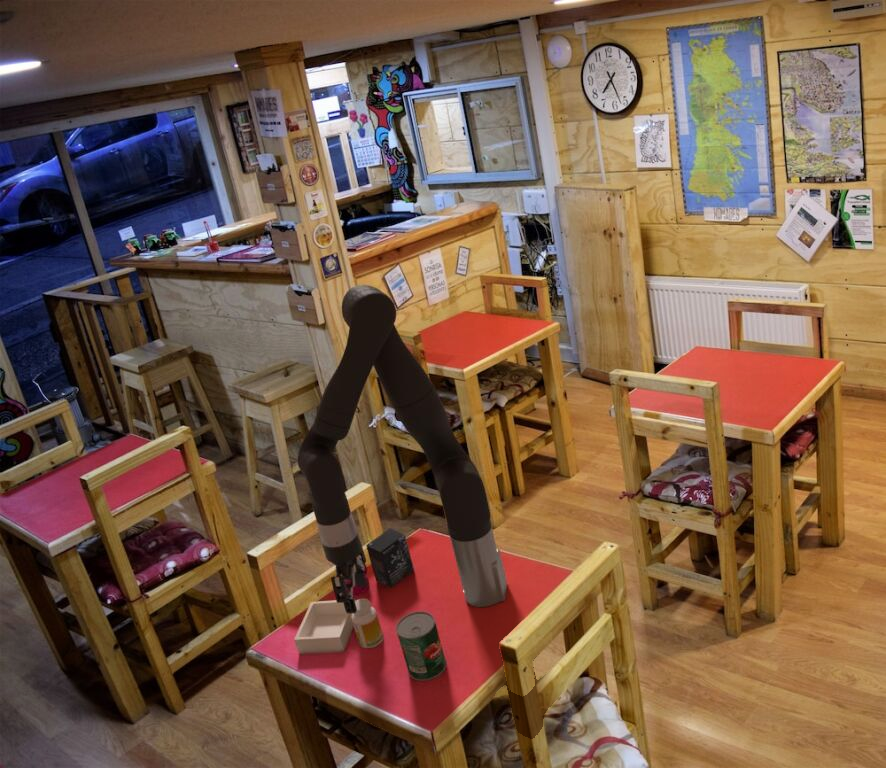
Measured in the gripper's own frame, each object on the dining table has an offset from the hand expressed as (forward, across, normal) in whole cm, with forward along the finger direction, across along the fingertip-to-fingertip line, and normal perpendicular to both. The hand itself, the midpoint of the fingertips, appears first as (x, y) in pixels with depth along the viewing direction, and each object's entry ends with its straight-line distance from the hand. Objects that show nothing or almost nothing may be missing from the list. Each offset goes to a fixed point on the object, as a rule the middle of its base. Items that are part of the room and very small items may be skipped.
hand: (357, 598), depth 185 cm
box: (+11, +22, -1) cm, 25 cm away
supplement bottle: (+11, 0, 0) cm, 11 cm away
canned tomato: (+11, -9, -15) cm, 20 cm away
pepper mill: (+11, +19, +8) cm, 24 cm away
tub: (+11, +3, +10) cm, 15 cm away
